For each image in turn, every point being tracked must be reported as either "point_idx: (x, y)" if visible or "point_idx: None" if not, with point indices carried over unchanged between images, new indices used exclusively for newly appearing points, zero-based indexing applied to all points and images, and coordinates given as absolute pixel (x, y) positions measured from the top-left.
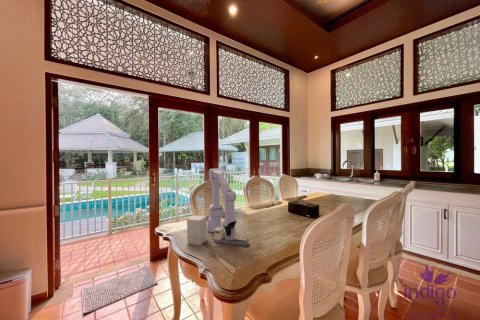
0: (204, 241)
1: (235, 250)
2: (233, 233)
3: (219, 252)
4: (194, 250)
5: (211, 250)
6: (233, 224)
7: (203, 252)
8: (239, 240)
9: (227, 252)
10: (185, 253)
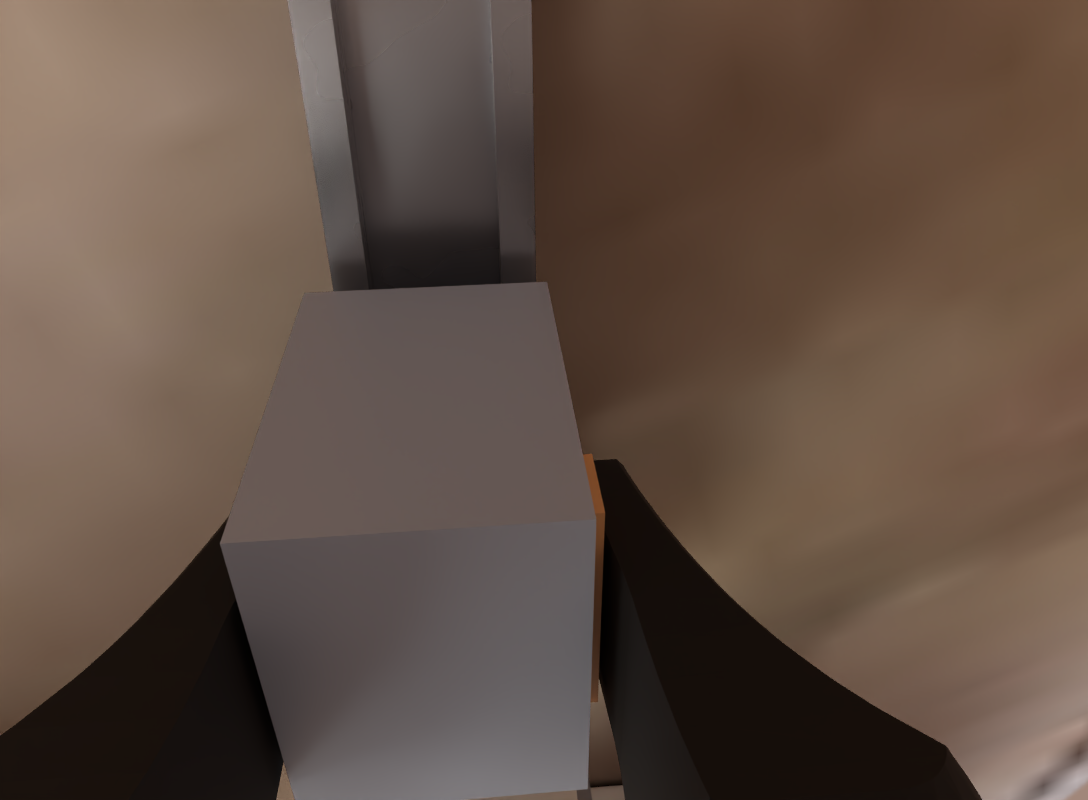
0: (593, 795)
1: (893, 14)
2: (539, 417)
3: (1024, 369)
4: None
5: (930, 544)
6: (178, 797)
7: (1021, 619)
8: (344, 104)
9: (1026, 193)
10: (1052, 790)
